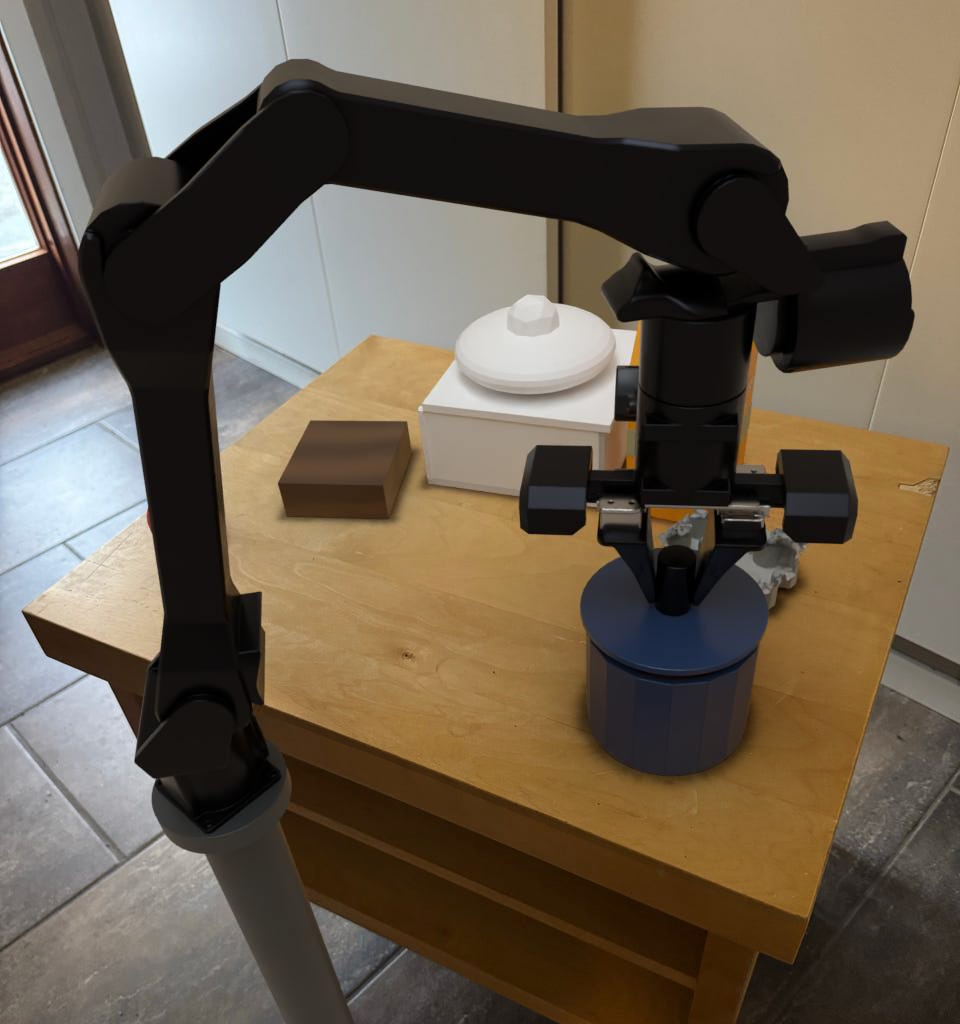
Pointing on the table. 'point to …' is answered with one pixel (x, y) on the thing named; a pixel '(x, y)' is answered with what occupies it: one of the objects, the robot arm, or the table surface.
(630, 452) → the orange juice
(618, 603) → the lid
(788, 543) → the egg carton
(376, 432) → the block
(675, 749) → the pot
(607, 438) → the white box with dome
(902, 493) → the table surface
